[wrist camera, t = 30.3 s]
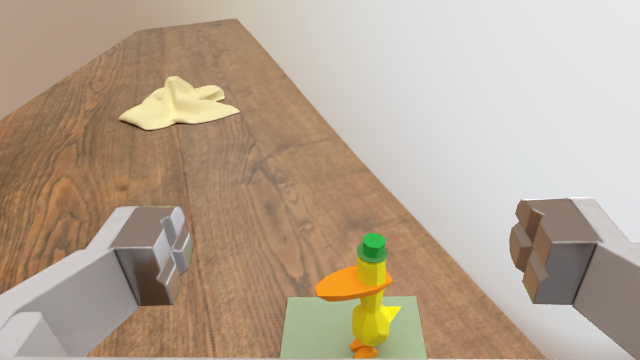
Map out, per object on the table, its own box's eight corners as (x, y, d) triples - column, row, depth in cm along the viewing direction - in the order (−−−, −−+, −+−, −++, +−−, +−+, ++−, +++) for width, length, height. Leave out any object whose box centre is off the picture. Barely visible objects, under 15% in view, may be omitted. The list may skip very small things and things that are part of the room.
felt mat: (415, 299, 40) (415, 296, 39) (440, 434, 30) (440, 430, 29) (288, 300, 40) (287, 296, 40) (270, 431, 30) (269, 428, 30)
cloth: (107, 133, 74) (95, 100, 71) (145, 92, 90) (137, 64, 86) (233, 126, 73) (227, 93, 70) (250, 87, 89) (245, 58, 85)
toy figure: (329, 383, 33) (320, 273, 26) (316, 344, 36) (305, 236, 29) (408, 358, 34) (419, 247, 28) (390, 323, 37) (395, 215, 30)
